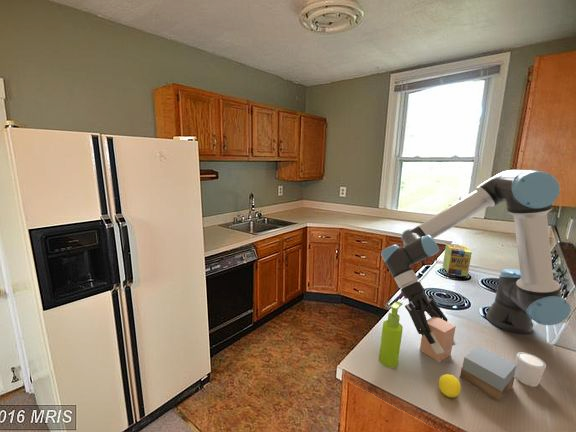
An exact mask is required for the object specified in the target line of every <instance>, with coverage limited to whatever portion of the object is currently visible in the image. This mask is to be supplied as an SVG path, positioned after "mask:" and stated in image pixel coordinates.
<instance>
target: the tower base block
mask: <svg viewBox="0 0 576 432" xmlns="http://www.w3.org/2000/svg"><path fill="white" fill-rule="evenodd" d="M459 378H460V379H461V380H463V381H464V382H466V383H468V384H469V385H470V386H472V387H474V388H475V389H477V390H478V391H480V392H481V393H483V394H484V395H486V396H488V397H489V398H491V399H492V400H494V401H495V402H499V401H500V400H501V399H502V398H503V397H504V396H505V395H506V394H508V392H509V391H510V390H511V389H512V388H513V385H514V381H515V378H516V377H515V376H514V377H513V378H512V379H511V381H510V382H509V383H508V384H507V385H506V387H505V388H504V389H503V390H502V391H500V390H498V389H496V388H495V387H493V386H491V385H490V384H488V383H486V382H484V381H483V380H481V379H479V378H477V377H476V376H474V375H472V374H471V373H469V372H467V371H465V370H464V369H462V367H461V369H460V373H459Z"/></svg>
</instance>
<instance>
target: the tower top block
mask: <svg viewBox="0 0 576 432" xmlns="http://www.w3.org/2000/svg"><path fill="white" fill-rule="evenodd" d="M516 366H517V364H516V362H513V361H511V360H509V359H507V358H506V357H502V356H500V355H499V354H497V353H495V352H493V351H491V350H489V349H488V348H485V347H483V346H481V345H477V346H476V347H475V348H473V349H472V350H471V351H469V353H467V354H466V355H465V356H464V357H463V363H462V367H461V368H462V369H464V370H465V371H467V372H469V373H471V374H472V375H474V376H476V377H477V378H479V379H481V380H483V381H484V382H486V383H488V384H490V385H491V386H493V387H495V388H496V389H498V390H500V391H502V390H503V389H504V388H505V387H506V385H507V384H508V383H509V382H510V381H511V379H512V378H513V377H515V371H516Z"/></svg>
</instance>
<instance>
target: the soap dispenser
mask: <svg viewBox="0 0 576 432" xmlns="http://www.w3.org/2000/svg"><path fill="white" fill-rule="evenodd" d="M401 306H403V303H402V302H400V301H395V302H393V303H392V304H391V305H390V309H391V312H389V313H388V316H387V319H386V320H384V321H383V323H382V327H381V329H382V331H381V336H380V337H381V339H380V346H379V353H378V354H379V355H378V361H379V363H380V364H381V365H383V366H384V367H387V368H391V369H392V368H396V367H397V366H398V365H399V357H400V351H401V349H400V348H401V342H402V335H403V329H404V327H403V325H402V324H401V323H400V320H401V319H400V318H401V317H400V314H398V310H399V308H400V307H401Z"/></svg>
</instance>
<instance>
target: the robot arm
mask: <svg viewBox="0 0 576 432" xmlns="http://www.w3.org/2000/svg"><path fill="white" fill-rule="evenodd" d="M560 191H561V187H560V184H559V181H558V180H557V178H555V176H554V175H551V174H550V173H548V172H546V171H542V170H536V169H507V170H503V171H501V172H499V173H497V174H496V175H494V176H491V177H489V178H488V179H486V180H485V181H484V182H482V183H480V184H478V185H477V186H476V187H475V188H474V191H472V192H471V193H469V194H468V195H466V196H464V197H463V198H462V199H460V200H458V201H456V202H454V203H453V204H452V205H450V206H448V207H446V208H445V209H444V210H442V211H440V212H439V213H437V214H435V215H433V216H432V217H430V218H429V219H427V220H426V221H424V222H422V223H421V224H419V225H418V226H415V227H414V228H413V229H412V228H408V229H406V230H403V232H402V234H401V237H400V238H401V242H402V244H403V246H401V247H400V246H399V245H398V244H392V245H390V246H387V247H386V248H384V249H383V250H382V251H381V253H380V255H381V258H382V260H383V261H384V263H385V266H386V267H387V270H388V271H389V272H390V274H391V276H392V278H393V279H394V280H395V283H396V285H397V286H398V288H399V289H400V292H401V293H402V294H401V295H403V297H404V298H405V299H407V300H408V304H406V305H404V308H405V310H406V311H407V312H408V314H409V315H410V318H411V321H412V323H413V325H414V327H415V329H416V331H417V333H418V334H419V335H421V336H422V335H425V336H426V338H427V340H428V342H429V343H430V344H431V346H432V348H433V349H434V351H435V353H436V354H440V353H444V351H443V349H442V347H441V345H440V344H439V342H438V340H437V338H436V337H435V335H434V333H433V332H430V329H429V326H428V323H427V320H428V319H427V317H426V314H425V312H426V313H427V314H428V315H429V317H430V318H432V317H434V316H435V317H438V318H440V319H442V320H444V321H446V322H448V318H447V317H446V315H445V314H444V312H443V311H442V310H441V308H440V307H439V305H438V304H437V303H436V301H435V299H434V297H433V295H432V294H429V295H426V294H425V293H424V291H425V288H424V287H423V285H422V283H421V282H420V281H419V278H418V276H417V274H416V273H415V271H414V270H413V268H412V267H411V266H412V265H415V264H417V263H419V262H421V261H424V260H425V259H428V258H431V257H433V256H434V255H436V254H438V253H439V252H440V247H439V246H438V244H437V242H436V241H435V238H437V237H438V236H440V235H442V234H444V233H446V232H447V231H449V230H451V229H452V228H454V227H456V226H457V225H459V224H461V223H463V222H464V221H466V220H468V219H469V218H471V217H472V216H475V215H476V214H478V213H480V212H482V210H484V209H486V208H488V207H490V208H491V207H492V208H493V207H495V206H497V205H499V204H501V203H504V202H505V203H506V211H507V213H508V214H510V215H511V216H513V221H514V229H515V230H514V231H515V239H516V246H517V247H516V248H517V249H516V250H517V256H518V264H519V269H516V268H504V269H502V270H501V271H500V274H499V276H498V277H499V278H498V282H497V287H496V293H495V298H494V301H493V303H492V304H491V306H490V307H489V308H488V310H487V311H486V319H487V320H488V321H489V323H491V324H492V325H495V326H496V327H498V328H500V329H502V330H503V331H507V332H511V333H515V334H520V335H525V334H527V335H528V334H531V333H533V329H534V323H533V321H534V322H535V323H537V324H539V325H542V326H555V325H556V326H557V325H559V324H561V323H563V322H564V321H566V320H567V319H568V318H569V317H570V315H571V312H572V307H571V304H570V303H569V302H568V301H567V299H566V298H564V297H562V291H561V290H562V289H561V284H560V283H559V282H558V281H557V280H555V279H554V272H553V264H552V263H553V262H552V261H553V260H552V250H551V244H550V243H551V242H550V233H549V231H550V230H549V224H548V223H549V222H548V213H549V212H550V211H551V212H552V210H553V207H554V206H553V203H555V202H556V199H558V198H559V195H560ZM456 345H457V342H456V340H455V338H454V339H453V345H452V347H453V346H456Z"/></svg>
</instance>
